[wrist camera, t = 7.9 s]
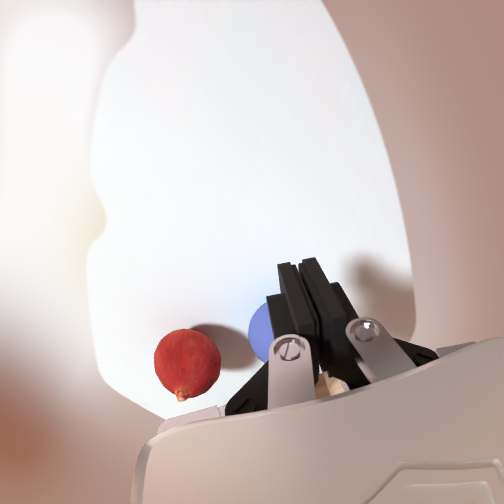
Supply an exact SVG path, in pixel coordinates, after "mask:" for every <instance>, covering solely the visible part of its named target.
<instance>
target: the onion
mask: <svg viewBox="0 0 504 504" xmlns="http://www.w3.org/2000/svg"><path fill="white" fill-rule="evenodd" d="M154 366H155V372H156V374H157V376H158V378H159V379H160V381H161V383H162V384H163V386H164V387H165V388H166V389H167V390H169V391H170V392H172V393H173V394H175V395H176V397H177V400H178V401H180V402H181V401H185V400H187V399H188V398H194V397H197V396H199V395H201V394H203V393H205V392H207V391H208V390H209V389H210V388H211V387H212V385H213V384H214V383H215V382H216V381H217V379H218V377H219V375H220V368H221V356H220V352H219V351H218V349H217V347H216V345H215V344H214V343H213V342H212V341H211V340H210V339H209V338H208V337H207V336H206V335H204V334H203V333H201V332H198V331H196V330H191V329H180V330H175V331H173V332H171V333H169V334H168V335H166V336H165V337H164V338H162V339H161V341H160V343H159V344H158V346H157V348H156V351H155V353H154Z"/></svg>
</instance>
